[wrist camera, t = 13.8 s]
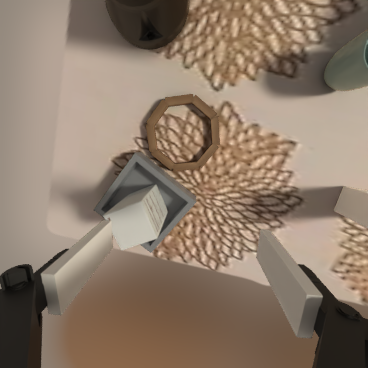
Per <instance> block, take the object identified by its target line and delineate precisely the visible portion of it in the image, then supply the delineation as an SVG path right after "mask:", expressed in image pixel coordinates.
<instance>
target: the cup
mask: <svg viewBox="0 0 368 368" xmlns="http://www.w3.org/2000/svg"><path fill="white" fill-rule="evenodd" d="M324 80H325V82H326V84H327V85H328V86H329V87H330V88H332V89H334V90H337V91H350V90H355V89H360V88H364V87H367V86H368V29H367V30H365V31H364V32H362V33H361V34H359V35H358V36H357V37H355V38H354V39H352V40H351V41H350V42H348V43H347V44H346V45H344V46H343V47H342V48H341V49H339V50H338V51H337V52H336V53H335V54H334V56H333V57H332V58H331V59H330V61H329V62H328V64H327V66H326V68H325V71H324Z"/></svg>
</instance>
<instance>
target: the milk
mask: <svg viewBox="0 0 368 368" xmlns="http://www.w3.org/2000/svg"><path fill="white" fill-rule="evenodd" d="M334 211H335V212H337V213H339V214H341V215H343V216H345V217H347V218H349V219H351V220H353V221H355V222H357V223H359V224H361V225H363V226H365V227H367V228H368V190H362V189H357V188H352V187H346V186H343V188H342V191H341V193H340V196H339V198H338V201H337V203H336V206H335V208H334Z"/></svg>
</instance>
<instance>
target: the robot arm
mask: <svg viewBox="0 0 368 368" xmlns="http://www.w3.org/2000/svg"><path fill="white" fill-rule="evenodd" d="M105 2H106V7H107V10H108V13H109V15H110V17H111V20H112V21H113V23H114V25H115V26H116V28H117V29H118V31H119V32H120V33H121V35H122V36H123V37H124V38H125V39H126V40H127V41H128V42H130V43H131V44H133V45H135V46H137V47H140V48H144V49H156V48H160V47H162V46H165V45H167V44H168V43H170V42H171V41H172V40H173V39H174V38H175V37H176V36H177V35H178V34H179V33H180V31H181V30H182V28H183V26H184V24H185V22H186V19H187V15H188V11H189V0H105ZM112 249H113V237H112V224H111V221H110V220H102V221H101V222H100V223H99V224H98V225H97V226H96V227H94V228H93V229H92V230H91V231H90V232H89V233H87V234H86V235H85V236H84V237H83V238H82V239H80V240H79V241H78V242H77V243H76V244H75V245H74V246H72V247H71V248H70V249H65V250H63V251H61V252H59V253H58V254H57V255H55V256H54V257H53V259H51V260H50V261H48V263H46V264H45V265H43V266H42V267H41V268H40V269H39V270H38V271H36V272H35V273H34V274H33V269H32V266H31V265H29V264H23V265H18V266H15V267H13V268H11V269H9V270H7V271H5V272H4V273H2V275H1V276H0V284H1V287H2V289H0V368H41V346H42V313H41V312H42V311H43V310H44V309H45V308H46V306H47V308H48V313H49V314H54V315H62V314H63V312H64V311H65V310H66V308H67V307H68V306H69V305H70V303H71V302H72V301H73V299H74V298H75V297H76V295H77V294H78V293H79V291H80V290H81V289H82V287H83V286H84V285H85V284H86V282H87V281H88V280H89V278H90V277H91V276H92V275H93V273H94V272H95V271H96V269H97V268H98V267H99V265H100V264H101V263H102V262H103V260H104V259H105V257H106V256H107V255H108V254H109V253H110V251H111V250H112ZM256 258H257V260H258V262H259V264H260V266H261V268H262V270H263V272H264V273H265V275H266V277H267V279H268V281H269V283H270V285H271V287H272V289H273V291H274V293H275V295H276V297H277V299H278V301H279V303H280V305H281V307H282V309H283V310H284V313H285V315H286V317H287V319H288V321H289V323H290V325H291V327H292V329H293V331H294V332H295V335H296V337H302V338H312V335H313V331H314V330H315V332H316V333H317V335H318V337H319V340H318V344H317V347H316V351H315V358H314V362H313V367H312V368H368V319H365V318H363V317H362V316H361V315H360V313H359V312H357V311H356V310H355V309H354V308H352V307H351V306H349V305H347V304H345V303H342V302H340V301H338V300H337V299H336V298H335V297H334V295H333V294H332V293H331V292H330V291H329V290H328V289H327V287H326V286H325V285H324V284H323V283H322V282H321V281H320V280H319V278H317V276H316V275H315V274H314V273H313V272H312V270H310V269H309V268H307V267H306V266H305V265H301V264H297V263H296V262H295V261H294V259H293V258H292V257H291V256H290V254H289V253H288V252H287V251H286V250H285V248H284V247H283V246H282V245H281V243H280V242H279V241H278V240H277V238H276V237H275V236H274V235H273V233H272V232H271V231H270V230H262V229H260V236H259V243H258V250H257V256H256Z"/></svg>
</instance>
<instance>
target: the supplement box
mask: <svg viewBox="0 0 368 368" xmlns="http://www.w3.org/2000/svg"><path fill="white" fill-rule="evenodd" d="M167 213H168V210H167V207H166V205H165V203H164V201H163V198H162V196H161V194H160V192H159V189H158V187H157V185H156V184H154V185H151V186H149V187H146V188H143V189H141V190H138V191H136V192H133V193H131V194H129V195H128V196H126V197H125V198H124V199H123V200H121V201H120V202H119V203H118V204H116V205H115V206H114V207H113V208H111V209H110V210H109V211H108V212H106V213H105V214H104V215H103V217H104V218H105V220H110V221H111V224H112V234H113V236H114V238H115V240H116V241H117V243H118V245H119V247H120V249H121V250H125V249H128V248H131V247H134V246H137V245H140V244H143V243H146V242H149V241H151V240H154V239H157V238H158V236H159V233H160V231H161V228H162V226H163V223H164V220H165V218H166V215H167Z"/></svg>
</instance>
